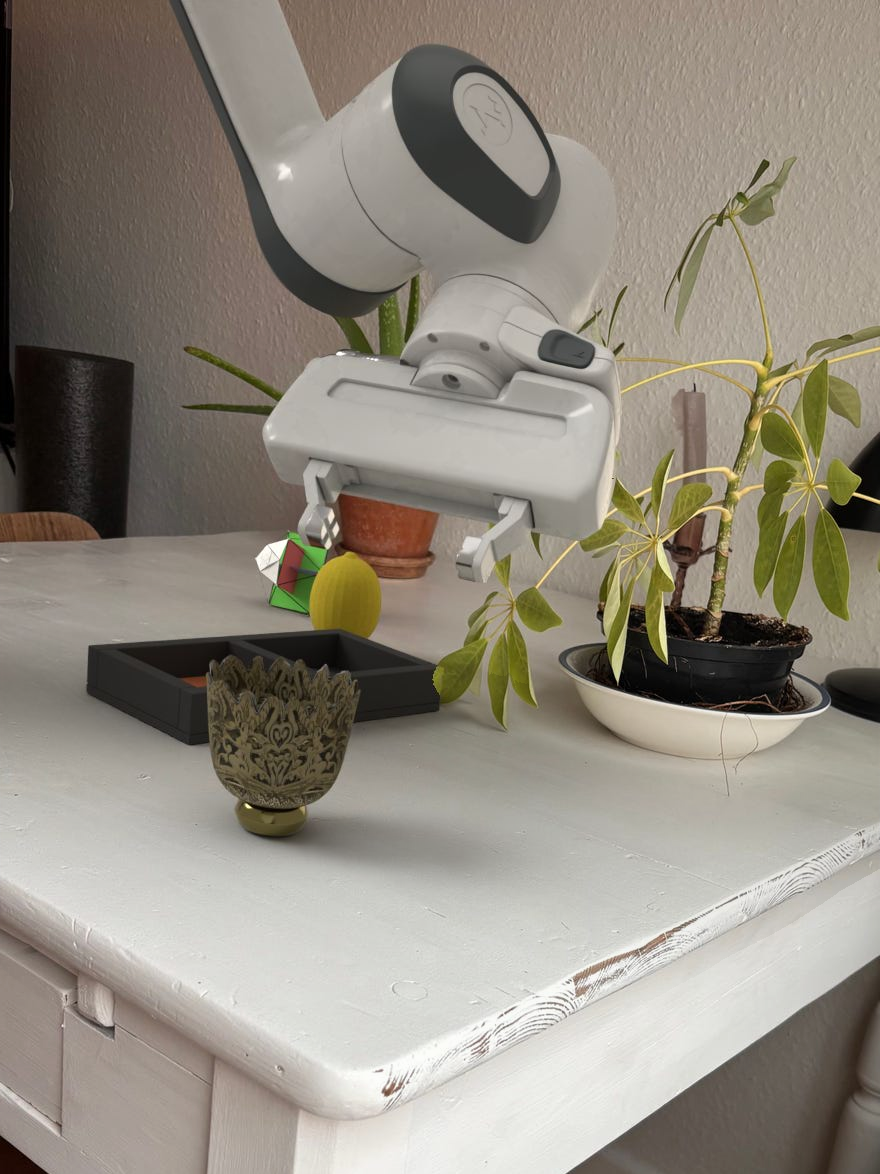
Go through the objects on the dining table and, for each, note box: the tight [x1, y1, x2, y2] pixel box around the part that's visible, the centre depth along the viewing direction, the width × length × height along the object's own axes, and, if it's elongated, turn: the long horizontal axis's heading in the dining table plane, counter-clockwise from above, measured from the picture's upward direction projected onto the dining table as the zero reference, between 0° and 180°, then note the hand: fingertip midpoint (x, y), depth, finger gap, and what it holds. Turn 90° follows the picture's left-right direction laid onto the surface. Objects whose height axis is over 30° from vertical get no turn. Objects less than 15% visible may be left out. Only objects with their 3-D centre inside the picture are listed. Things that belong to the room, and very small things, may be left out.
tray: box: [86, 629, 442, 746], centre depth 85 cm, size 11×21×3 cm, turn 137°
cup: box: [206, 655, 361, 837], centre depth 64 cm, size 8×7×8 cm
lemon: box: [309, 551, 382, 639], centre depth 100 cm, size 6×6×8 cm
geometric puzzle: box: [254, 530, 335, 616], centre depth 113 cm, size 7×7×8 cm
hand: (389, 557), depth 70 cm, fingers open, 8 cm apart
